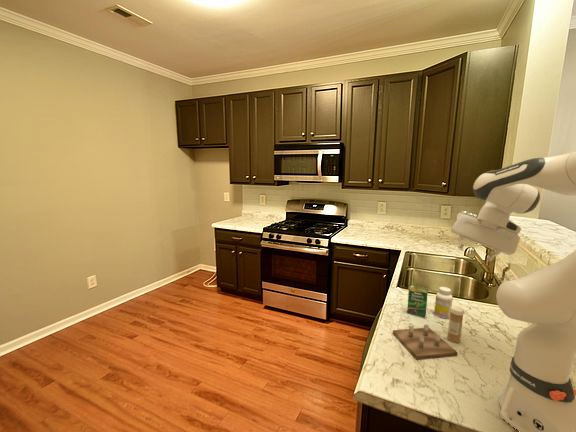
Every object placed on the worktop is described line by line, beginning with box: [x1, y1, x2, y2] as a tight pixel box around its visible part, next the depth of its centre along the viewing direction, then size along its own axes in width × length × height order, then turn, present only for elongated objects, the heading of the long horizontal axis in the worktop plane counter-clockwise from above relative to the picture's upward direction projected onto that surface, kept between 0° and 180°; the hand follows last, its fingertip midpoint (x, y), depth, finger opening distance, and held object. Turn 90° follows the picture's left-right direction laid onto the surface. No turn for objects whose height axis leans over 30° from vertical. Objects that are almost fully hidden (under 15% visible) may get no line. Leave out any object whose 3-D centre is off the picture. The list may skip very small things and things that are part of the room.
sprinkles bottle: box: [446, 305, 465, 344], centre depth 109 cm, size 5×5×13 cm
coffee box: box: [406, 285, 429, 318], centre depth 128 cm, size 8×3×13 cm, turn 57°
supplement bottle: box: [434, 286, 454, 319], centre depth 128 cm, size 7×7×13 cm
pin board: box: [392, 324, 458, 361], centre depth 107 cm, size 16×16×6 cm
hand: (473, 254), depth 101 cm, fingers open, 8 cm apart
